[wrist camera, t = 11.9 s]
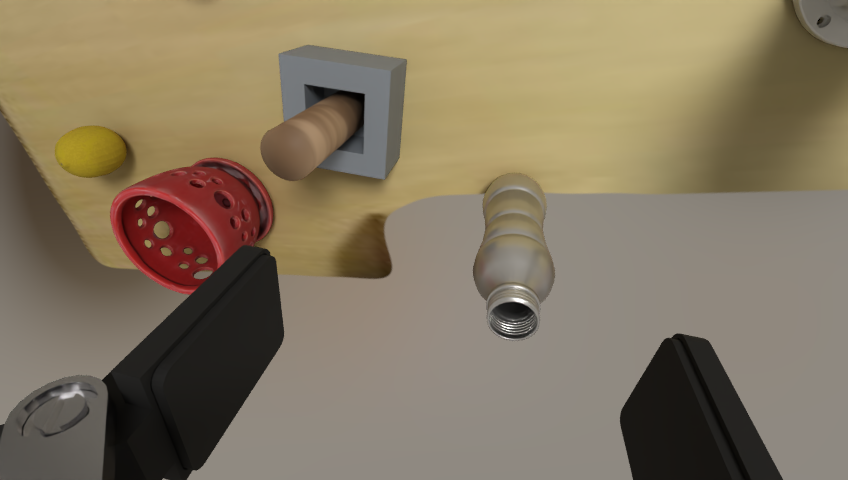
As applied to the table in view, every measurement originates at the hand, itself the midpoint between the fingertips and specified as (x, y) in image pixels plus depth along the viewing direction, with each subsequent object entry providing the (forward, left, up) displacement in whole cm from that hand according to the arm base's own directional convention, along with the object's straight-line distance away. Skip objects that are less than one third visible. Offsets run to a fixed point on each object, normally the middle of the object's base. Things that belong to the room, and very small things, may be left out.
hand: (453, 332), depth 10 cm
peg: (+14, +5, -33) cm, 36 cm away
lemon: (+44, +14, -34) cm, 58 cm away
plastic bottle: (-4, +12, -34) cm, 37 cm away
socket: (+14, +5, -34) cm, 37 cm away
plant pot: (+30, +19, -34) cm, 50 cm away
